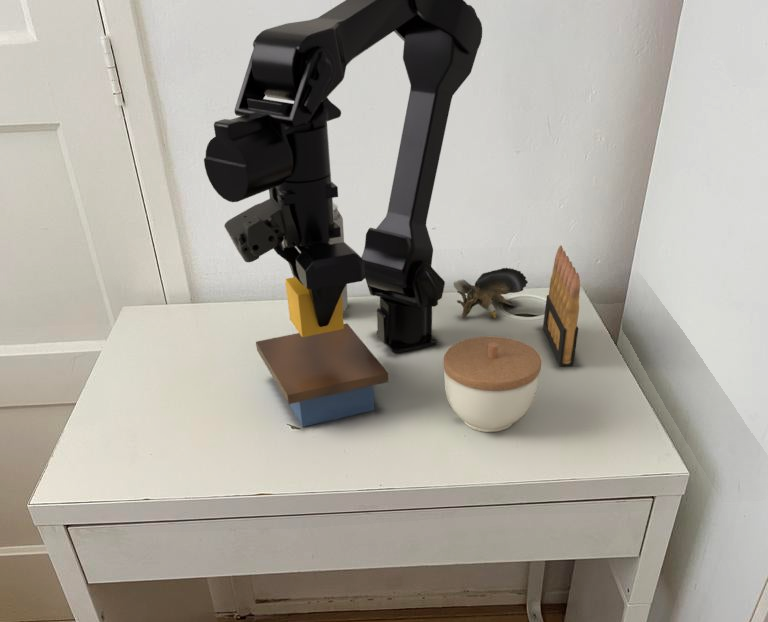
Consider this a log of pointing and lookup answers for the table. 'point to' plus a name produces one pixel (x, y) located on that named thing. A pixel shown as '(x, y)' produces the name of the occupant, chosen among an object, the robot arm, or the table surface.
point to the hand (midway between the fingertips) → (315, 316)
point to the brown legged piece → (490, 289)
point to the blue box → (334, 406)
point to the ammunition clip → (562, 310)
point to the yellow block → (309, 311)
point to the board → (320, 364)
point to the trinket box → (491, 381)
